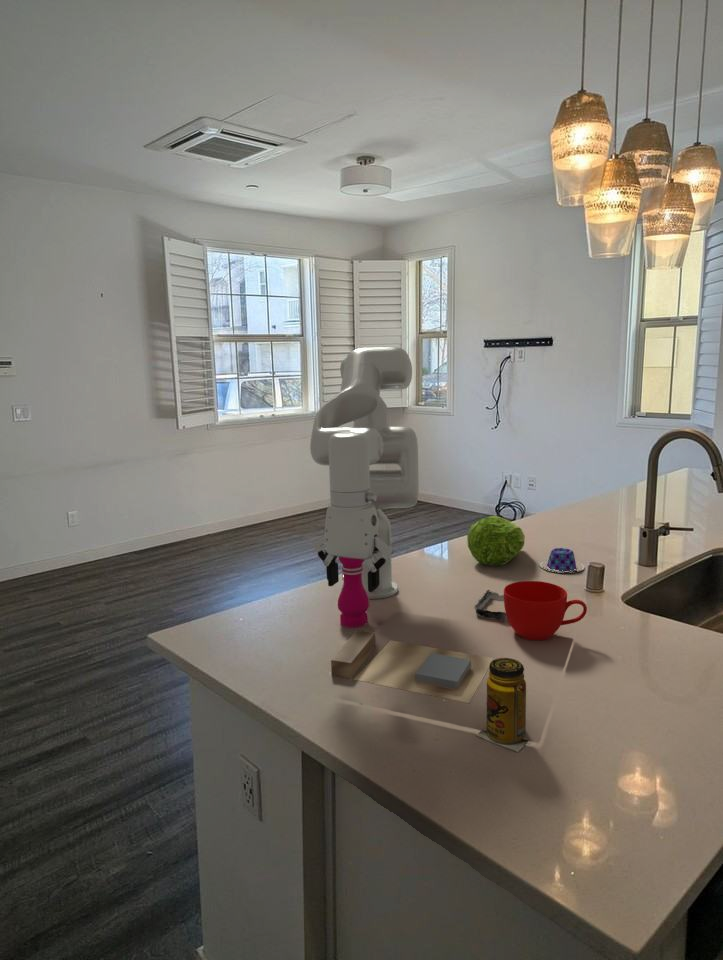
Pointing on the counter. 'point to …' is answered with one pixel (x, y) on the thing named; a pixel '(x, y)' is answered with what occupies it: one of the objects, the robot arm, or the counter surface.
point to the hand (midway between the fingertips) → (353, 586)
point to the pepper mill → (353, 594)
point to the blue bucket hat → (561, 560)
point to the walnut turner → (353, 654)
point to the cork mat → (405, 659)
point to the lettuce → (495, 540)
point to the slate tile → (443, 671)
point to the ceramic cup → (537, 608)
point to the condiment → (506, 704)
